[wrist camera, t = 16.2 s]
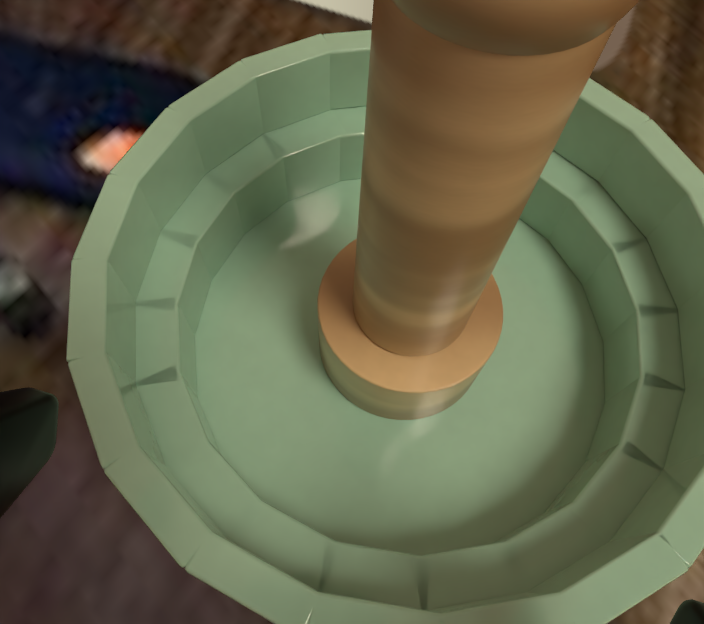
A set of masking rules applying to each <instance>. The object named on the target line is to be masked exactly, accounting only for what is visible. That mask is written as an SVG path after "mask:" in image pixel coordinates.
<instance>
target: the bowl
mask: <svg viewBox="0 0 704 624" xmlns="http://www.w3.org/2000/svg"><path fill="white" fill-rule="evenodd" d="M371 32H372V30H363V31H351V32H339V33H327V34H323V35H322V34H318V35H315V36H312V37H309V38H306V39H302V40H299V41H296V42H293V43H290V44H287V45H284V46H281V47H278V48H275V49H272V50H269V51H266V52H262V53H259V54H256V55H253V56H250V57H247V58H244V59H241V61H238V62H236V63H235V64H233V65H232V66H230V67H228V68H227V69H225V70H224V71H222V72H221V73H219V74H217V75H216V76H214V77H213V78H211V79H210V80H208V81H206V82H205V83H203V84H202V85H200V86H199V87H197V88H195V89H194V90H192V91H191V92H189V93H188V94H186V95H184V96H183V97H181V98H180V99H178V100H177V101H175V102H173V103H172V104H170V105H169V106H168V108H165V110H164V111H163V112H162V113H161V114H160V115H159V116H158V118H157V119H156V120H155V121H154V122H153V123H152V124H151V126H150V127H149V128H148V129H147V130H146V131H145V132H144V134H143V135H142V136H141V137H140V138H139V139H138V140H137V141H136V143H135V144H134V145H133V146H132V147H131V148H130V149H129V151H128V152H127V153H126V154H125V155H124V156H123V157H122V159H121V160H120V161H119V162H118V163H117V164H116V165H115V167H114V168H113V169H112V170H111V171H110V174H109V175H108V176H107V178H106V180H105V183H104V185H103V187H102V190H101V192H100V195H99V197H98V199H97V202H96V204H95V206H94V209H93V211H92V213H91V216H90V218H89V220H88V223H87V225H86V227H85V230H84V232H83V235H82V237H81V239H80V242H79V244H78V246H77V249H76V251H75V253H74V256H73V260H72V261H71V279H70V299H69V318H68V337H67V357H66V360H67V362H68V367H69V370H70V373H71V376H72V380H73V383H74V386H75V389H76V392H77V395H78V398H79V401H80V404H81V407H82V410H83V413H84V416H85V419H86V422H87V426H88V429H89V432H90V435H91V438H92V441H93V444H94V447H95V450H96V453H97V456H98V459H99V462H100V465H101V467H102V468H103V469H104V472H105V475H106V476H107V477H108V479H109V480H110V481H111V482H112V483H113V485H114V486H115V487H116V488H117V490H118V491H119V492H120V493H121V495H122V496H123V497H124V498H125V500H126V501H127V502H128V503H129V504H130V506H131V507H132V508H133V509H134V511H135V512H136V513H137V514H138V516H139V517H140V518H141V519H142V521H143V522H144V523H145V524H146V525H147V527H148V528H149V529H150V530H151V532H152V533H153V534H154V535H155V537H156V538H157V539H158V540H159V542H160V543H161V544H162V545H163V546H164V548H165V549H166V550H167V551H168V553H169V554H170V555H171V556H172V558H173V559H174V560H175V561H176V563H177V564H178V565H179V566H180V567H182V568H185V570H186V572H187V573H189V574H190V575H192V576H194V577H195V578H197V579H199V580H201V581H202V582H204V583H206V584H207V585H209V586H211V587H212V588H214V589H216V590H217V591H219V592H221V593H223V594H224V595H226V596H228V597H229V598H231V599H233V600H234V601H236V602H238V603H240V604H241V605H243V606H245V607H246V608H248V609H250V610H251V611H253V612H255V613H257V614H258V615H260V616H262V617H263V618H265V619H267V620H268V621H270V622H272V623H274V624H607V623H609V622H610V621H612V620H613V619H615V618H616V617H618V616H619V615H621V614H622V613H624V612H625V611H627V610H629V609H630V608H632V607H633V606H635V605H636V604H638V603H639V602H641V601H642V600H644V599H646V598H647V597H649V596H650V595H652V594H653V593H655V592H656V591H658V590H659V589H661V588H663V587H664V586H666V585H667V584H669V583H670V582H672V581H673V580H675V579H676V578H678V577H679V576H681V575H683V574H684V573H686V572H687V571H688V568H689V567H691V566H692V564H693V563H694V561H695V560H696V558H697V557H698V556H699V554H700V553H701V551H702V550H703V548H704V174H703V173H702V172H701V171H700V170H699V169H698V168H697V166H696V165H695V164H694V163H693V162H692V161H691V160H690V159H689V158H688V157H687V156H686V155H685V154H684V153H683V152H682V150H681V149H680V148H679V147H678V146H677V145H676V144H675V143H674V142H673V141H672V140H671V139H670V138H669V137H668V136H667V134H666V133H665V132H664V131H663V130H662V129H661V128H660V127H659V126H658V125H657V124H656V123H655V122H654V121H653V120H652V119H649V116H648V115H646V114H644V113H643V112H641V111H640V110H638V109H637V108H635V107H634V106H632V105H631V104H629V103H627V102H626V101H624V100H623V99H621V98H620V97H618V96H617V95H615V94H614V93H612V92H610V91H609V90H607V89H606V88H604V87H603V86H601V85H600V84H598V83H597V82H595V81H594V80H592V79H590V78H589V79H588V81H587V83H586V85H585V87H584V89H583V91H582V93H581V95H580V97H579V99H578V101H577V103H576V105H575V107H574V109H573V111H572V113H571V115H570V117H569V119H568V121H567V123H566V125H565V127H564V129H563V131H562V133H561V135H560V137H559V139H558V141H557V143H556V145H555V147H554V149H553V151H552V153H551V155H550V157H549V159H548V161H547V163H546V165H545V167H544V169H543V171H542V173H541V175H540V177H539V180H538V182H537V184H536V186H535V188H534V190H533V192H532V194H531V196H530V198H529V200H528V202H527V204H526V206H525V208H524V210H523V212H522V214H521V216H520V218H519V220H518V222H517V224H516V226H515V228H514V230H513V232H512V234H511V236H510V238H509V240H508V242H507V244H506V246H505V248H504V250H503V252H502V254H501V256H500V258H499V260H498V262H497V264H496V266H495V268H494V270H493V272H492V275H493V277H494V278H495V281H496V283H497V285H498V288H499V291H500V294H501V298H502V304H503V325H502V331H501V335H500V338H499V341H498V343H497V345H496V348H495V350H494V352H493V353H492V355H491V356H490V358H489V359H488V361H487V362H486V364H485V365H484V367H483V368H482V370H481V371H480V373H479V374H478V376H477V377H476V379H475V380H474V382H473V383H472V385H471V386H470V388H469V389H468V391H467V392H466V393H465V394H464V395H463V396H462V397H461V398H460V399H459V400H458V401H457V402H456V403H454V404H453V405H452V406H450V407H449V408H447V409H445V410H444V411H442V412H439V413H437V414H435V415H432V416H429V417H425V418H421V419H414V420H395V419H388V418H384V417H380V416H376V415H374V414H371V413H369V412H366V411H364V410H363V409H361V408H359V407H357V406H356V405H354V404H353V403H352V402H350V401H349V400H347V399H346V398H345V397H344V396H343V395H342V394H341V393H340V392H339V391H338V389H337V388H336V387H335V386H334V384H333V383H332V381H331V380H330V378H329V376H328V375H327V373H326V370H325V368H324V366H323V363H322V359H321V355H320V348H319V333H318V312H317V298H318V292H319V287H320V284H321V280H322V277H323V275H324V273H325V271H326V269H327V267H328V266H329V264H330V263H331V261H332V260H333V259H334V257H335V256H336V255H337V254H338V253H339V252H340V251H341V250H342V249H343V248H344V247H346V246H347V245H348V244H349V243H351V242H352V241H354V240H355V239H357V229H358V215H359V200H360V186H361V172H362V158H363V144H364V130H365V116H366V102H367V88H368V74H369V60H370V46H371Z"/></svg>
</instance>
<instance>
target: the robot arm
mask: <svg viewBox="0 0 704 624" xmlns="http://www.w3.org/2000/svg"><path fill="white" fill-rule="evenodd" d="M57 419H58V400H57V398H56V397H55V396H54V395H53V394H50V393H47V392H44V391H41V390H37V389H34V388H21V389H15V390H10V391H4V392H0V518H1V517H2V516H3V515H4V513H5V512H6V511H7V510H8V509H9V507H10V506H11V505H12V504H13V502H14V501H15V500H16V499H17V498H18V496H19V495H20V494H21V493H22V492H23V490H24V489H25V488H26V487H27V486H28V484H29V483H30V482H31V481H32V480H33V478H34V477H35V476H36V475H37V473H38V472H39V471H40V470H41V469H42V467H43V466H44V465H45V464H46V463H47V461H48V460H49V458H50V457H51V455H52V453H53V451H54V448H55V443H56V432H57ZM670 624H704V603H702V602H698V601H695V600H686V601H684V602H683V603H682V604H681V605H680V606H679V608H678V610H677V611H676V613H675V615H674V617H673V619H672V621H671V622H670Z"/></svg>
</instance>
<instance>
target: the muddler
mask: <svg viewBox="0 0 704 624" xmlns="http://www.w3.org/2000/svg"><path fill="white" fill-rule="evenodd" d="M639 1H640V0H374V4H373V18H372V32H371V46H370V60H369V74H368V88H367V102H366V116H365V130H364V144H363V158H362V172H361V186H360V200H359V215H358V229H357V239H355V240H354V241H352V242H351V243H349V244H348V245H347V246H346V247H344V248H343V249H342V250H341V251H340V252H339V253H338V254H337V255H336V256H335V257H334V259H333V260H332V261H331V263H330V264H329V266H328V267H327V269H326V271H325V273H324V275H323V277H322V280H321V284H320V287H319V292H318V298H317V312H318V333H319V348H320V355H321V359H322V363H323V366H324V368H325V370H326V373H327V375H328V376H329V378H330V380H331V381H332V383H333V384H334V386H335V387H336V388H337V389H338V391H339V392H340V393H341V394H342V395H343V396H344V397H345V398H346V399H347V400H349V401H350V402H352V403H353V404H354V405H356V406H357V407H359V408H361V409H363V410H364V411H366V412H369V413H371V414H374V415H376V416H380V417H384V418H388V419H395V420H414V419H421V418H425V417H429V416H432V415H435V414H437V413H439V412H442V411H444V410H445V409H447V408H449V407H450V406H452V405H453V404H454V403H456V402H457V401H458V400H459V399H460V398H461V397H462V396H463V395H464V394H465V393H466V392H467V391H468V389H469V388H470V386H471V385H472V383H473V382H474V380H475V379H476V377H477V376H478V374H479V373H480V371H481V370H482V368H483V367H484V365H485V364H486V362H487V361H488V359H489V358H490V356H491V355H492V353H493V352H494V350H495V348H496V345H497V343H498V341H499V338H500V335H501V331H502V325H503V304H502V298H501V294H500V291H499V288H498V285H497V283H496V281H495V278H494V277H493V275H492V272H493V270H494V268H495V266H496V264H497V262H498V260H499V258H500V256H501V254H502V252H503V250H504V248H505V246H506V244H507V242H508V240H509V238H510V236H511V234H512V232H513V230H514V228H515V226H516V224H517V222H518V220H519V218H520V216H521V214H522V212H523V210H524V208H525V206H526V204H527V202H528V200H529V198H530V196H531V194H532V192H533V190H534V188H535V186H536V184H537V182H538V180H539V177H540V175H541V173H542V171H543V169H544V167H545V165H546V163H547V161H548V159H549V157H550V155H551V153H552V151H553V149H554V147H555V145H556V143H557V141H558V139H559V137H560V135H561V133H562V131H563V129H564V127H565V125H566V123H567V121H568V119H569V117H570V115H571V113H572V111H573V109H574V107H575V105H576V103H577V101H578V99H579V97H580V95H581V93H582V91H583V89H584V87H585V85H586V83H587V81H588V79H589V77H590V75H591V73H592V71H593V69H594V67H595V65H596V63H597V61H598V59H599V57H600V55H601V53H602V51H603V49H604V47H605V45H606V43H607V41H608V39H609V37H610V35H611V33H612V31H613V29H614V27H615V25H616V23H617V22H618V21H619V20H620V19H621V18H623V17H624V16H625V15H626V14H627V13H628V12H629V11H630V10H631V9H632V8H633V7H634V6H635V5H636V4H637V3H638V2H639Z"/></svg>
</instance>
